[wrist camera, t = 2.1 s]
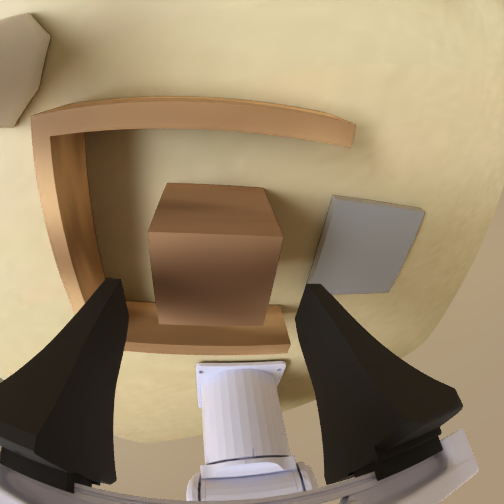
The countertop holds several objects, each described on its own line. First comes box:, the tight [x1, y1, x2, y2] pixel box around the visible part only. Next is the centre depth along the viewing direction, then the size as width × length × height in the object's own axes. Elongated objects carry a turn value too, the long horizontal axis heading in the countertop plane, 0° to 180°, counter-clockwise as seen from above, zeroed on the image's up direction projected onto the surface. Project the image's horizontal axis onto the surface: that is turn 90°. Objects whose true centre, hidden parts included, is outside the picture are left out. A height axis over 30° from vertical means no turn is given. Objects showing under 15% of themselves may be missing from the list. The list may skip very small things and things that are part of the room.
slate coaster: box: [307, 195, 425, 295], centre depth 17 cm, size 7×7×1 cm
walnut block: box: [148, 183, 283, 326], centre depth 13 cm, size 5×5×5 cm
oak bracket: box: [31, 96, 356, 355], centre depth 14 cm, size 14×13×4 cm
